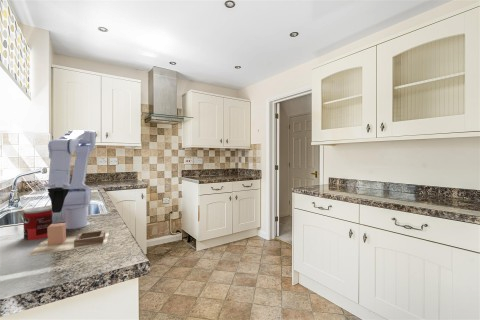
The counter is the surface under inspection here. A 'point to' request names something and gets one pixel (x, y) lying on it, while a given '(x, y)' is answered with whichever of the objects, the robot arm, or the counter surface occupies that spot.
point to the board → (73, 242)
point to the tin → (58, 216)
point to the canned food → (36, 222)
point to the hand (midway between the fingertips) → (56, 211)
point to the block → (56, 234)
